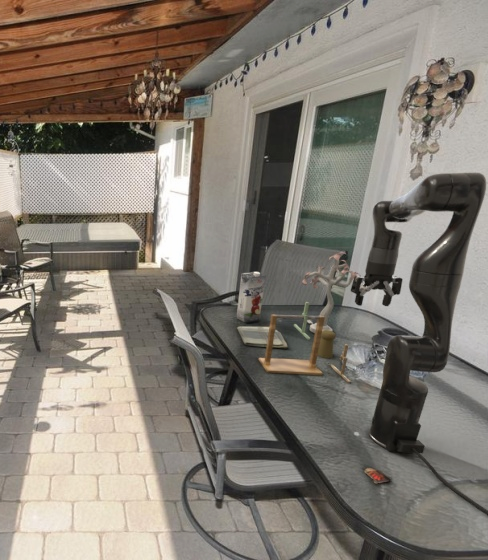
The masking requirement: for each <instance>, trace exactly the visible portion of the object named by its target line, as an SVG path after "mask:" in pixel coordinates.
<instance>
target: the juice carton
mask: <svg viewBox="0 0 488 560" xmlns="http://www.w3.org/2000/svg"><path fill="white" fill-rule="evenodd" d="M266 278H267V275H266V274H263V273H261V272H259V271H251V272H241V273H240V283H239V284H240V285H239V292H238V300H237V310H236V319H237V320H239V321H241V322H242V323H245V324H250V323H255V322H259V321H260V318H261V312H262V305H263V297H264V290H265V283H266Z"/></svg>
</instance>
